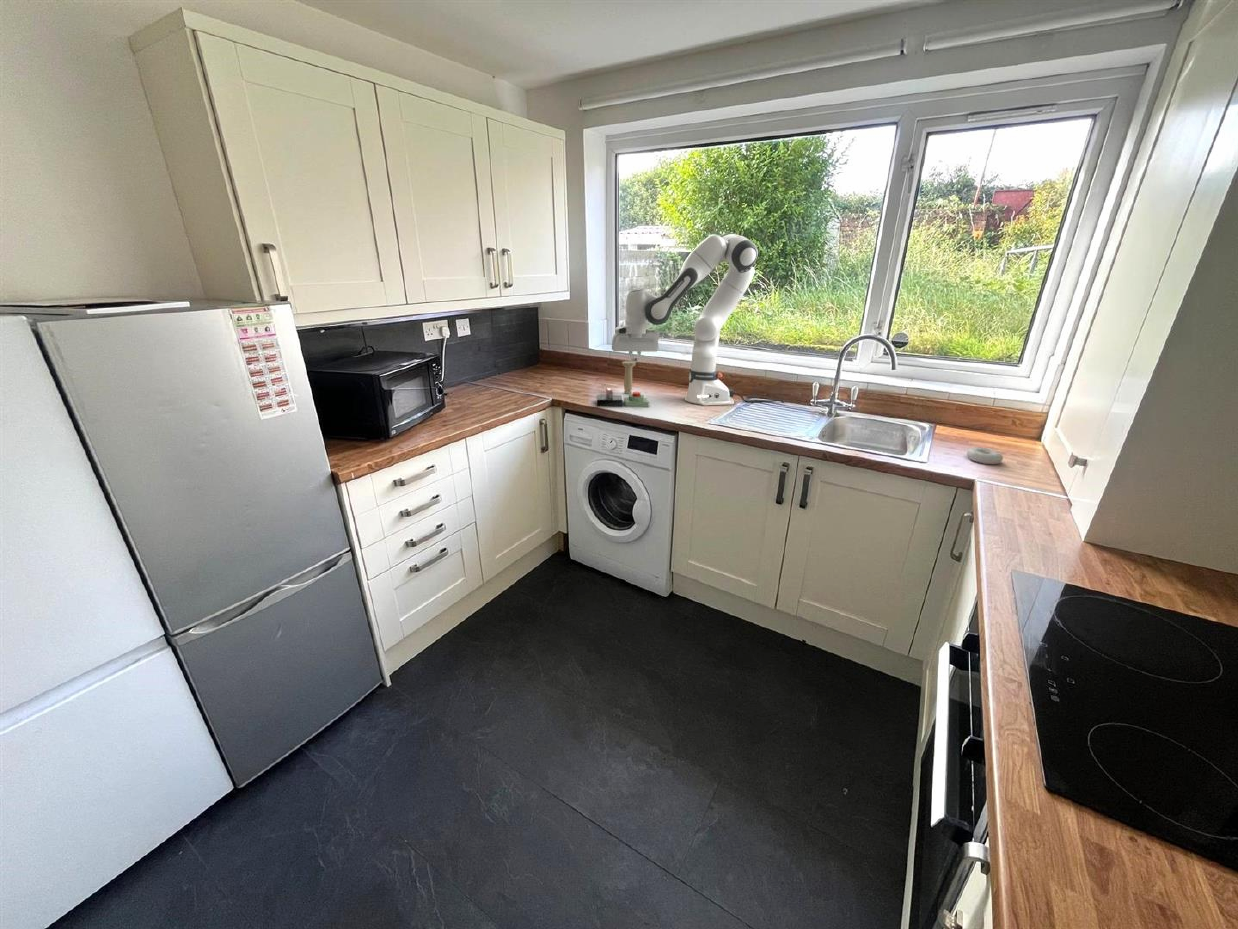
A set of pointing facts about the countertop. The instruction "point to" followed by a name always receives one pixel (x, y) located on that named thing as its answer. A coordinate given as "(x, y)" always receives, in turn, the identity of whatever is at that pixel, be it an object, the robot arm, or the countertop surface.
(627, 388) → the handle
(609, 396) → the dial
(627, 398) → the switch block
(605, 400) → the hob panel
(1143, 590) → the countertop surface
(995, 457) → the donut
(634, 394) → the button
